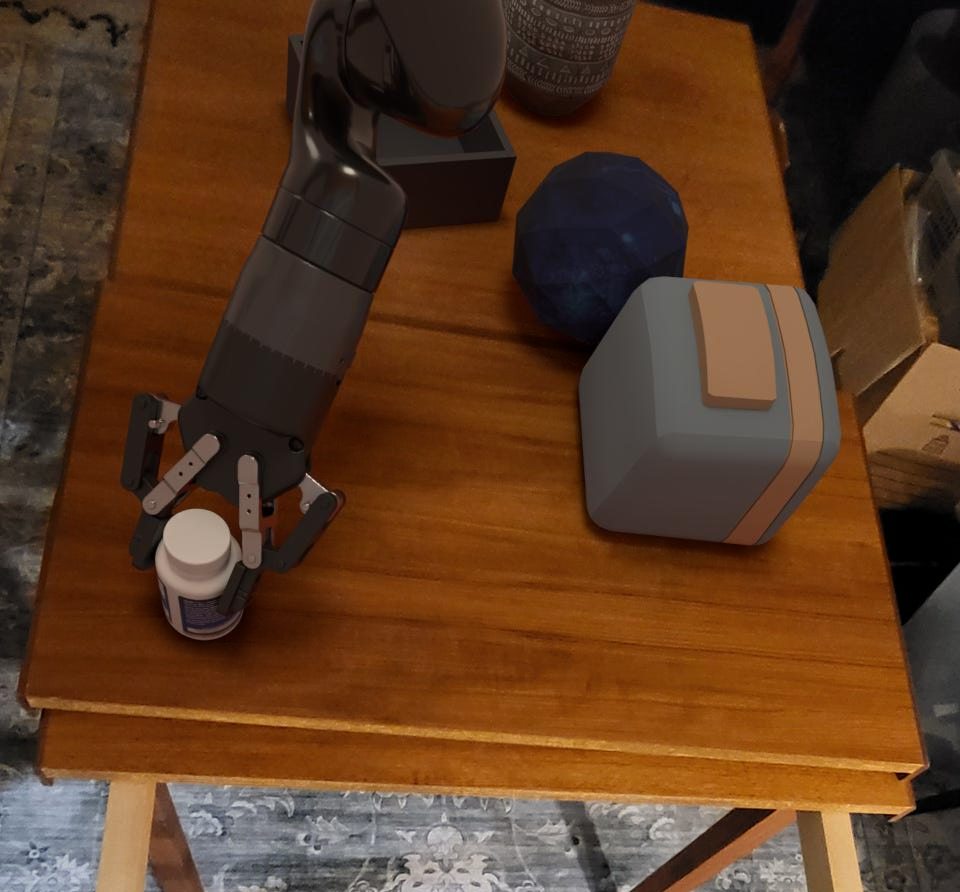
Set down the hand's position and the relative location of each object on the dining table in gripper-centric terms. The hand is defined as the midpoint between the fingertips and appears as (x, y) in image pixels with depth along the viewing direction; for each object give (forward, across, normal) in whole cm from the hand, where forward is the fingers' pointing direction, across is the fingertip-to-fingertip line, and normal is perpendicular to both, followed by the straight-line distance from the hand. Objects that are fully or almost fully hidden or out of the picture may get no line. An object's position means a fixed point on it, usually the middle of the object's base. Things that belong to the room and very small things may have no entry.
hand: (185, 588), depth 61 cm
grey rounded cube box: (-19, +25, +28) cm, 42 cm away
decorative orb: (-27, +11, +35) cm, 46 cm away
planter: (-45, -3, +53) cm, 69 cm away
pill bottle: (+3, 0, +5) cm, 6 cm away
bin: (-31, -10, +39) cm, 50 cm away
